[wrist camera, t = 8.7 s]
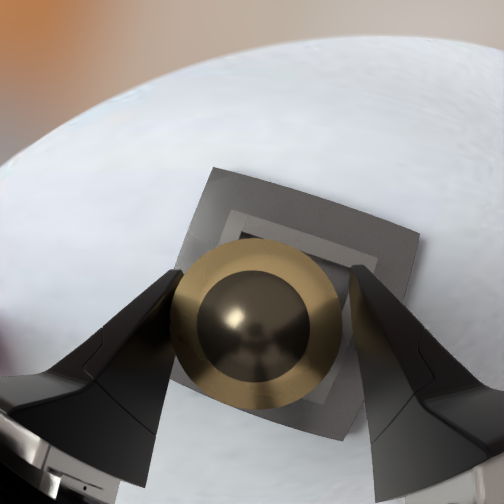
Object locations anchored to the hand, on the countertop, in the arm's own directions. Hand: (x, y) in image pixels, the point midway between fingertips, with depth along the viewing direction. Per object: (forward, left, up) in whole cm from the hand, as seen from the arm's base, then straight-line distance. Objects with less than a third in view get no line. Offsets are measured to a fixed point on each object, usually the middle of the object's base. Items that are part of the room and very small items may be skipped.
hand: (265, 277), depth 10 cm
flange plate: (0, +1, -8) cm, 9 cm away
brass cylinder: (0, +1, -7) cm, 8 cm away
